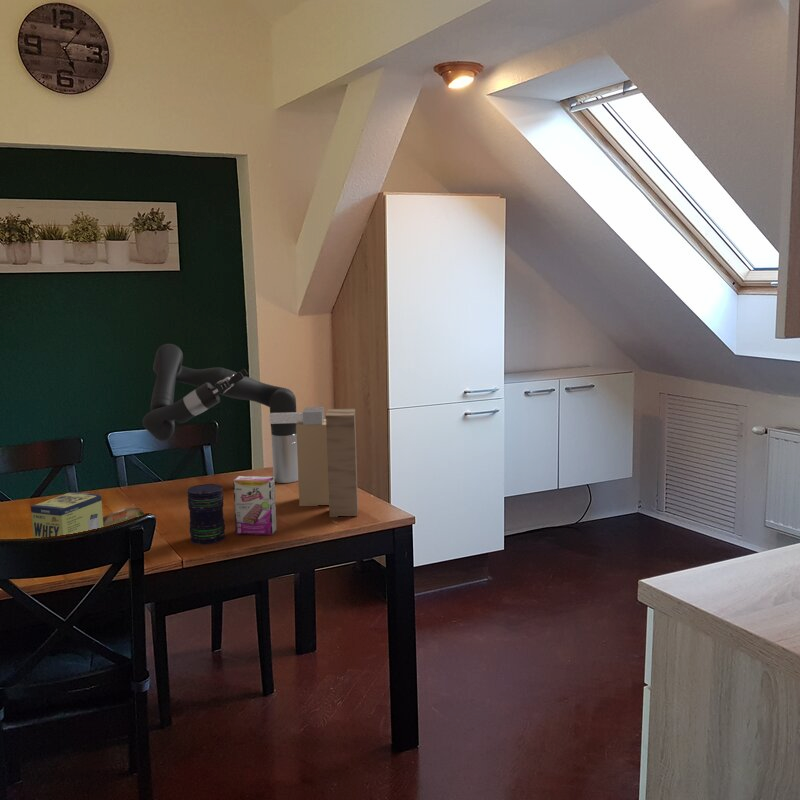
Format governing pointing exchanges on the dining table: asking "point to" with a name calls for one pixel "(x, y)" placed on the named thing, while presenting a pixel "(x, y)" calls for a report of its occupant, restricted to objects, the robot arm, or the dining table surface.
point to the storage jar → (206, 514)
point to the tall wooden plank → (342, 462)
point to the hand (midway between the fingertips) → (244, 373)
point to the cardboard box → (312, 464)
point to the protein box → (67, 515)
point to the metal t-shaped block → (300, 416)
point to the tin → (122, 516)
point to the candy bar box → (254, 505)
